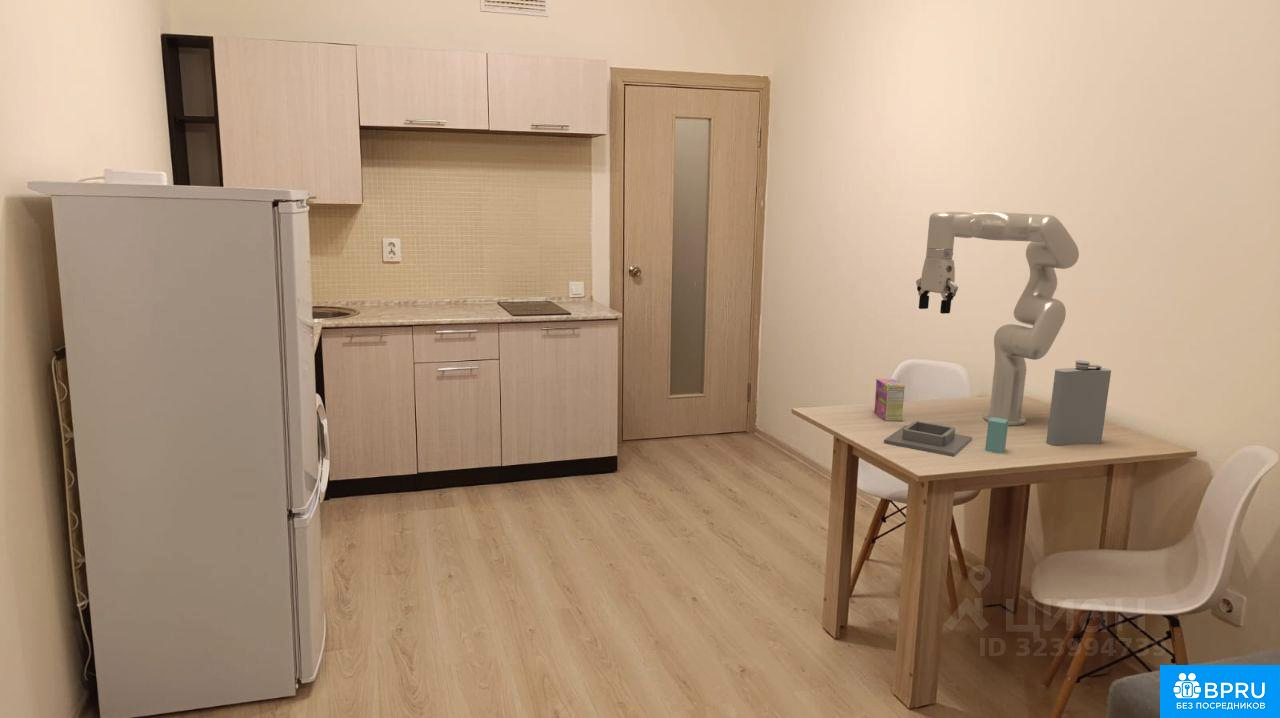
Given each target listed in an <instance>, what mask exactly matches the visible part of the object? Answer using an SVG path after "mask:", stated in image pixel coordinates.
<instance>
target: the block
mask: <svg viewBox="0 0 1280 718" xmlns="http://www.w3.org/2000/svg"><path fill="white" fill-rule="evenodd" d="M1008 427H1009V425H1008V420H1006V419H1000V418H994V417H992V418H991V419H989V420H988V421H987V430H986V439H985V449H984V451H985V450H986V452H990V451H992V452H991V453H996V452H997V454H1001V453H1002V454H1003V453H1004V452H1005V450H1006V445H1007V438H1008V437H1007V436H1008Z"/></svg>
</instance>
